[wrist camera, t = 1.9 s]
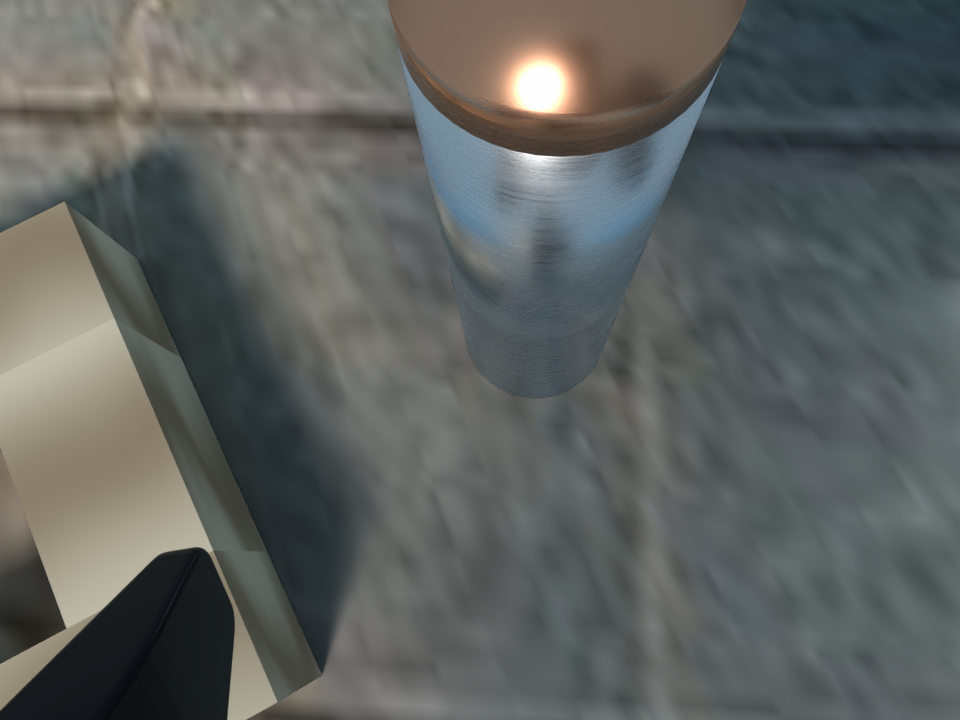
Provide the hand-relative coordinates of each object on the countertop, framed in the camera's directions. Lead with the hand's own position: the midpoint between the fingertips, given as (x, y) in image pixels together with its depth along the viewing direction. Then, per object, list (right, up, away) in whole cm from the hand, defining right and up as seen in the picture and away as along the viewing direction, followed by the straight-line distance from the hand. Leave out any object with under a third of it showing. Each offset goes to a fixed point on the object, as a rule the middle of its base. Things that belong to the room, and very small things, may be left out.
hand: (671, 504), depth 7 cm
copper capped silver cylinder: (0, +2, +13) cm, 13 cm away
